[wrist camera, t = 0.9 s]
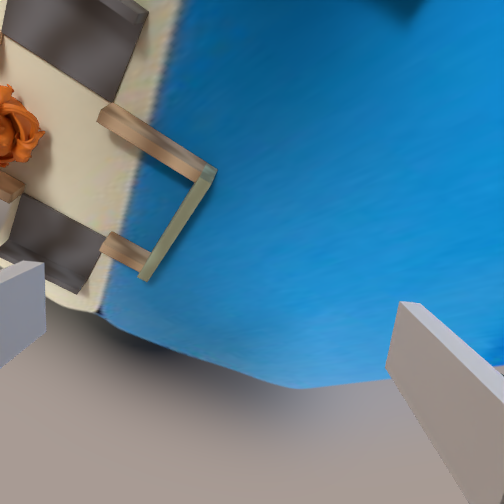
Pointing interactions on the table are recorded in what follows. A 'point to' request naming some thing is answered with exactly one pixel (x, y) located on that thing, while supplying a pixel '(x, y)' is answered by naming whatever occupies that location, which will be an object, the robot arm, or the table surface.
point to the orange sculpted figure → (16, 129)
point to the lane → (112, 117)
